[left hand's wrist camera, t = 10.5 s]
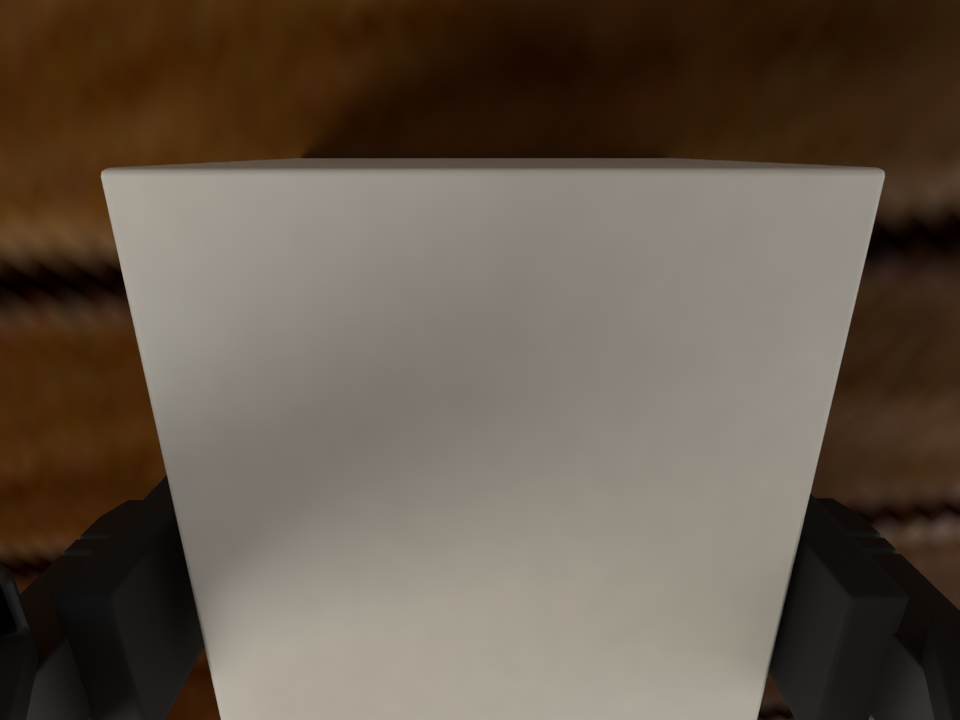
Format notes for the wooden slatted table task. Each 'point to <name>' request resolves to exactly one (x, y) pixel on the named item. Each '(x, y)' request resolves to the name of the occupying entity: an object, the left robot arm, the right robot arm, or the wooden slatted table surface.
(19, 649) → the left robot arm
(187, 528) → the long square beam
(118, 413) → the wooden slatted table surface
